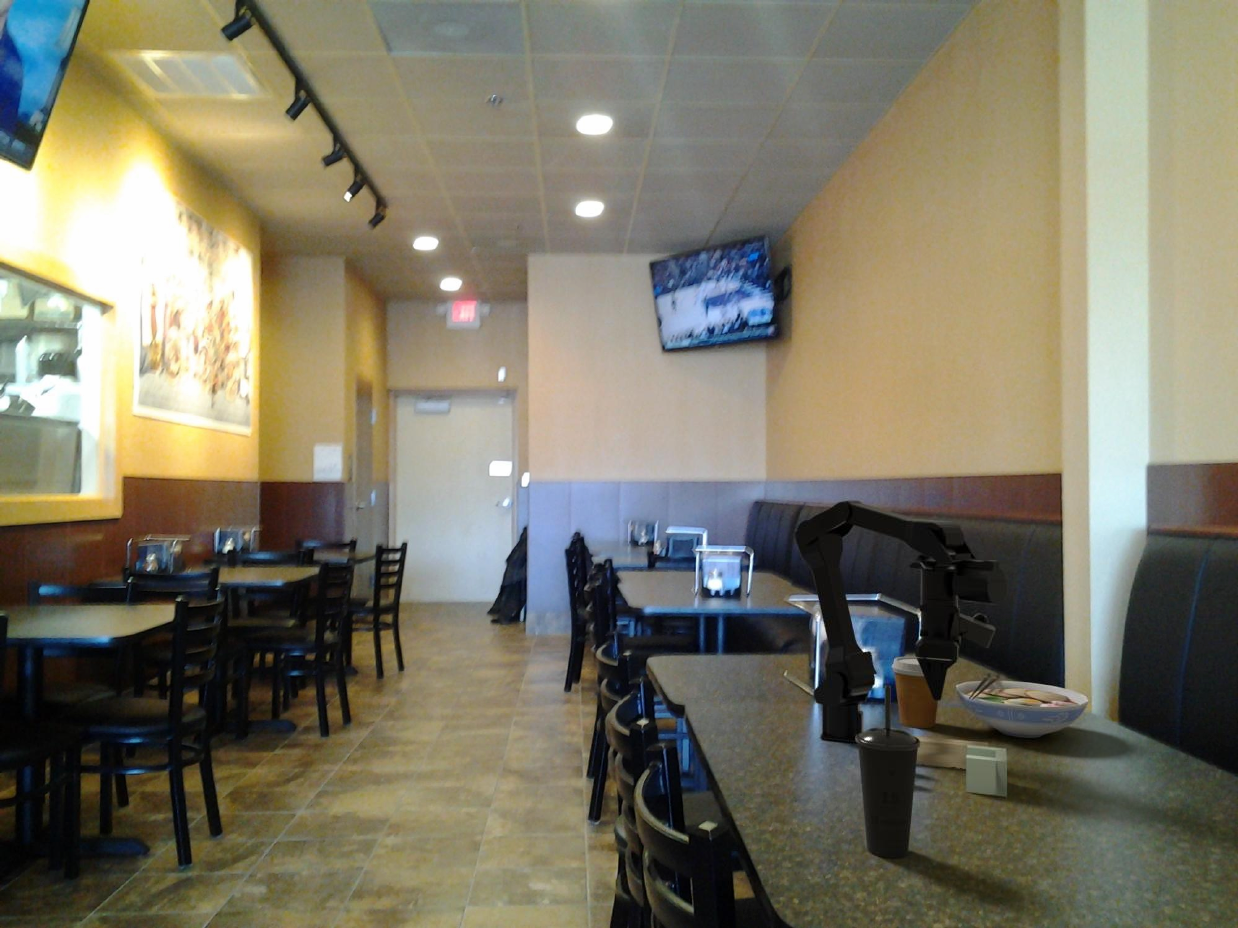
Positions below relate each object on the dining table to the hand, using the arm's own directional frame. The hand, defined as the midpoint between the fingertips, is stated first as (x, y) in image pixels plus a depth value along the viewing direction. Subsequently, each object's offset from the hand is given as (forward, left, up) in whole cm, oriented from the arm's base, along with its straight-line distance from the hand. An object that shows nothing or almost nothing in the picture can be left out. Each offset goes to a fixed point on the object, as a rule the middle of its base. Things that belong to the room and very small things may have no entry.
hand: (938, 694), depth 153 cm
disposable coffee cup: (-5, +26, -11) cm, 29 cm away
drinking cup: (-4, -42, -11) cm, 44 cm away
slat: (0, 0, -11) cm, 11 cm away
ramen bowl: (+13, +27, -11) cm, 32 cm away
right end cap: (+7, -10, -11) cm, 16 cm away
